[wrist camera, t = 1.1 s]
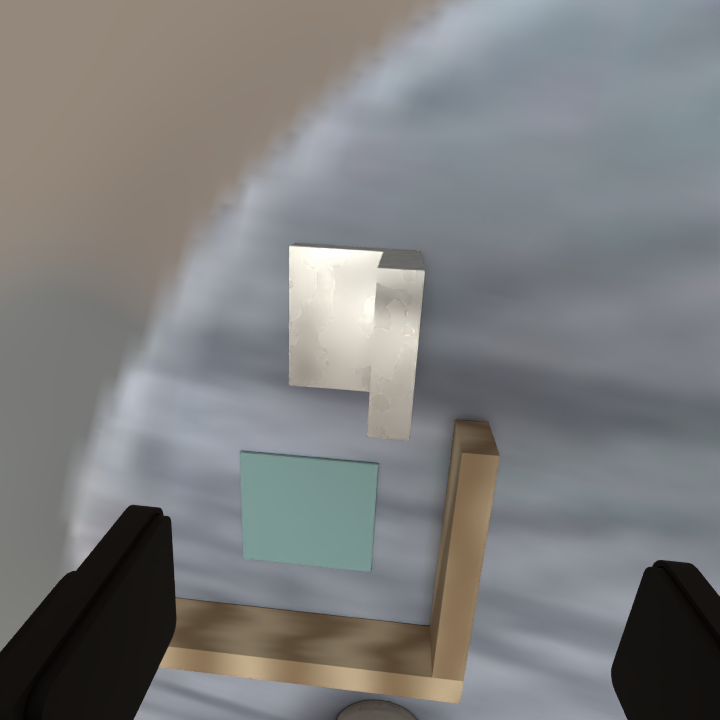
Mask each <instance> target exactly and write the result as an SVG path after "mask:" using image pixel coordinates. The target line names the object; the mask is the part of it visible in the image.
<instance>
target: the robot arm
mask: <svg viewBox="0 0 720 720" xmlns="http://www.w3.org/2000/svg"><path fill="white" fill-rule="evenodd" d="M176 620H177V616H176V598H175V581H174V563H173V545H172V527H171V519H170V517H169V516H163V511H162V509H161V508H158V507H149V506H139V505H131V506H129V507H128V508H127V509H126V510H125V511H124V512H123V514H122V515H121V516H120V517H119V519H118V520H117V521H116V522H115V523H114V525H113V526H112V527H111V528H110V530H109V531H108V532H107V533H106V535H105V536H104V537H103V538H102V540H101V541H100V542H99V543H98V544H97V546H96V547H95V548H94V549H93V551H92V552H91V553H90V554H89V556H88V557H87V558H86V559H85V560H84V562H83V563H82V564H81V565H80V567H79V568H78V569H77V570H76V571H72V572H70V573H68V574H66V575H65V576H64V577H63V578H62V579H61V580H60V581H59V582H58V583H57V585H56V586H55V587H54V588H53V589H52V591H51V592H50V593H49V594H48V596H47V597H46V598H45V599H44V600H43V602H42V603H41V604H40V605H39V607H38V608H37V609H36V610H35V611H34V612H33V614H32V615H31V616H30V617H29V619H28V620H27V621H26V622H25V623H24V624H23V626H22V627H21V628H20V629H19V631H18V632H17V633H16V634H15V635H14V636H13V638H12V639H11V640H10V641H9V642H8V644H7V645H6V646H5V647H4V648H3V650H2V651H1V652H0V720H134V717H135V715H136V713H137V711H138V709H139V707H140V705H141V703H142V701H143V699H144V697H145V695H146V692H147V690H148V688H149V686H150V684H151V682H152V680H153V678H154V676H155V674H156V672H157V669H158V667H159V665H160V663H161V661H162V659H163V657H164V655H165V653H166V651H167V649H168V647H169V644H170V642H171V640H172V638H173V635H174V632H175V628H176ZM611 678H612V684H613V687H614V690H615V692H616V694H617V697H618V699H619V701H620V704H621V706H622V708H623V710H624V713H625V715H626V717H627V719H628V720H720V596H719V595H718V594H717V593H716V591H715V590H714V589H713V588H712V586H711V585H710V584H709V583H708V581H707V580H706V579H705V578H704V576H703V575H702V574H701V572H700V571H699V570H698V569H697V568H696V567H695V566H694V565H693V564H690V563H684V562H675V561H665V560H658V561H656V562H655V563H654V564H653V566H652V567H648V568H646V569H645V571H644V573H643V576H642V579H641V582H640V585H639V588H638V591H637V594H636V597H635V600H634V603H633V606H632V609H631V612H630V615H629V617H628V620H627V623H626V626H625V629H624V632H623V635H622V638H621V641H620V644H619V647H618V650H617V653H616V656H615V659H614V661H613V664H612V668H611Z"/></svg>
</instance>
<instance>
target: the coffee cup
mask: <svg viewBox="0 0 720 720" xmlns="http://www.w3.org/2000/svg"><path fill="white" fill-rule="evenodd" d="M337 720H417V719H416V718H415V717H414V716H413V714H412V713H410V712H409V711H407V710H406V709H404V708H403V707H401V706H399V705H396V704H393V703H390V702H387V701H379V700H369V701H360V702H358V703H355V704H352V705H350V706H348V707H347V708H346V709H344V710H343V711H342V712H341V713H340V715H339V716H338V718H337Z"/></svg>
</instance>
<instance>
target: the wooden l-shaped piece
mask: <svg viewBox="0 0 720 720" xmlns="http://www.w3.org/2000/svg"><path fill="white" fill-rule="evenodd" d="M499 458H500V455H499V452H498V449H497V446H496V443H495V440H494V437H493V434H492V432H491V429H490V426H489V423H487V422H475V421H463V420H455V426H454V434H453V442H452V450H451V458H450V466H449V474H448V482H447V491H446V499H445V507H444V515H443V523H442V531H441V539H440V547H439V555H438V563H437V571H436V579H435V587H434V595H433V603H432V611H431V619H430V626H422V625H413V624H404V623H395V622H386V621H377V620H368V619H359V618H350V617H341V616H332V615H323V614H314V613H305V612H296V611H287V610H278V609H269V608H260V607H251V606H242V605H233V604H224V603H215V602H206V601H197V600H188V599H179V598H176V616H177V620H176V628H175V632H174V635H173V638H172V640H171V642H170V644H169V647H168V649H167V651H166V653H165V655H164V657H163V659H162V661H161V663H160V665H159V667H162V668H170V669H179V670H187V671H195V672H203V673H212V674H220V675H228V676H236V677H245V678H253V679H261V680H269V681H278V682H286V683H294V684H302V685H311V686H319V687H327V688H335V689H344V690H352V691H360V692H368V693H377V694H385V695H393V696H401V697H410V698H418V699H426V700H434V701H443V702H451V703H459V704H460V699H461V693H462V687H463V681H464V675H465V668H466V662H467V656H468V650H469V644H470V638H471V631H472V625H473V619H474V613H475V607H476V600H477V594H478V588H479V582H480V576H481V570H482V563H483V557H484V551H485V545H486V539H487V533H488V526H489V520H490V514H491V508H492V502H493V496H494V489H495V483H496V477H497V471H498V465H499Z"/></svg>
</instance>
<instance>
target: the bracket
mask: <svg viewBox="0 0 720 720" xmlns="http://www.w3.org/2000/svg"><path fill="white" fill-rule="evenodd" d="M424 275H425V269H424V264H423V260H422V255H421V251H416V250H399V249H383V248H366V247H350V246H334V245H317V244H301V243H294V244H292V245H290V246H289V385H293V386H305V387H317V388H330V389H342V390H355V391H367V392H370V396H369V413H368V429H367V437H373V438H385V439H396V440H408V441H409V438H410V427H411V416H412V405H413V394H414V383H415V373H416V362H417V351H418V340H419V329H420V318H421V307H422V297H423V286H424Z"/></svg>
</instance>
